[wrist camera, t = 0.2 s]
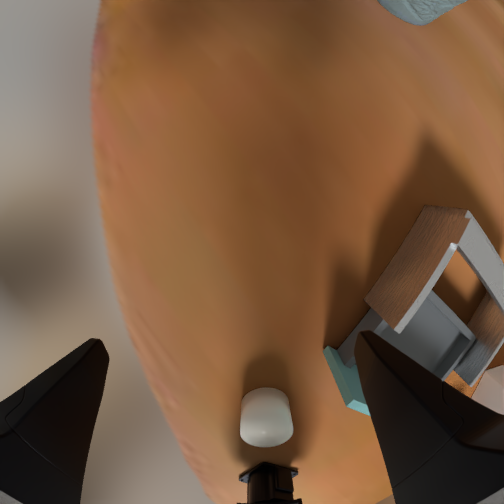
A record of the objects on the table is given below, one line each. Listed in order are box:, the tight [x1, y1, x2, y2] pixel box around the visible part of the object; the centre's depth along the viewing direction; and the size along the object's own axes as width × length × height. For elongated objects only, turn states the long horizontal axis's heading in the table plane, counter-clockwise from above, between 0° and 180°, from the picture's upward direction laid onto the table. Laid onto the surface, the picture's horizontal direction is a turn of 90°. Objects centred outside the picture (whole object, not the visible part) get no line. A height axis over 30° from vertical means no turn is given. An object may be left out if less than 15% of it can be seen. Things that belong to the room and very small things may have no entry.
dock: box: [363, 205, 504, 387], centre depth 21 cm, size 11×17×7 cm, turn 56°
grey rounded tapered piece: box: [240, 387, 293, 447], centre depth 24 cm, size 5×5×4 cm
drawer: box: [323, 290, 477, 416], centre depth 21 cm, size 11×17×8 cm, turn 56°
